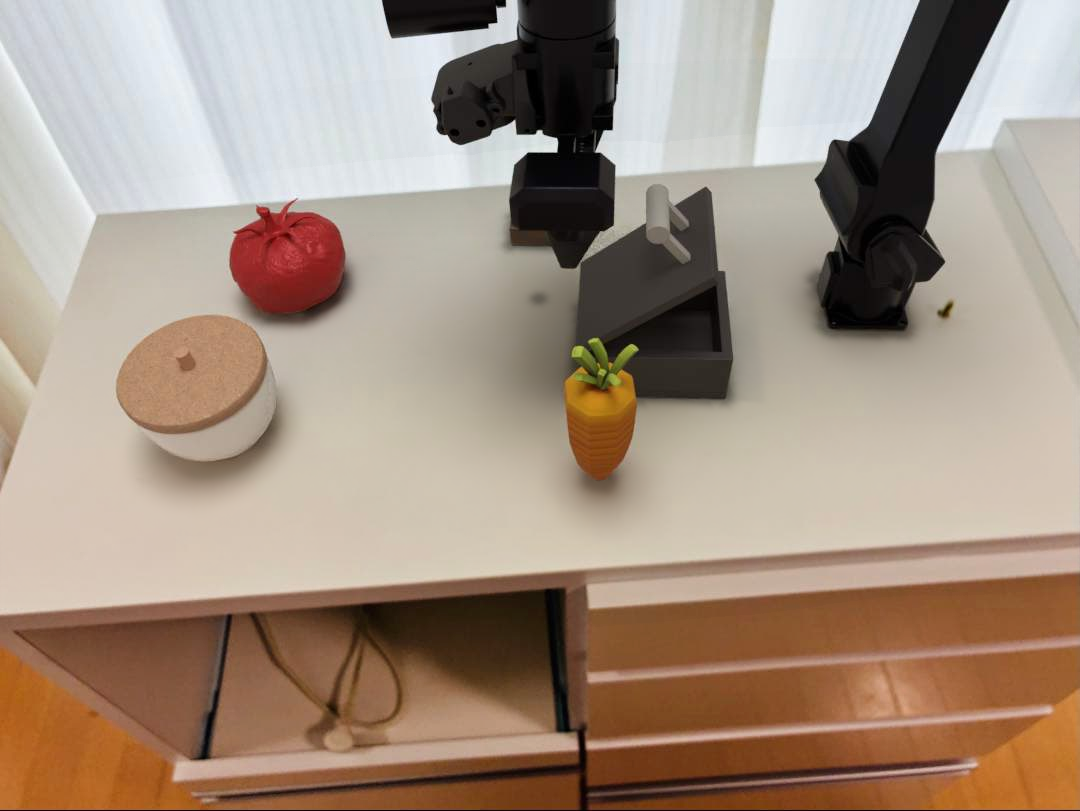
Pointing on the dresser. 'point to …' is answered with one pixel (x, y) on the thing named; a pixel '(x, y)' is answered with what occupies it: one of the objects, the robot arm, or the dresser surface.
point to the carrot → (600, 409)
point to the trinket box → (199, 387)
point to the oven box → (681, 349)
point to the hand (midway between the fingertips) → (571, 223)
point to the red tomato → (287, 260)
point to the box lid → (649, 267)
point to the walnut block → (528, 237)
